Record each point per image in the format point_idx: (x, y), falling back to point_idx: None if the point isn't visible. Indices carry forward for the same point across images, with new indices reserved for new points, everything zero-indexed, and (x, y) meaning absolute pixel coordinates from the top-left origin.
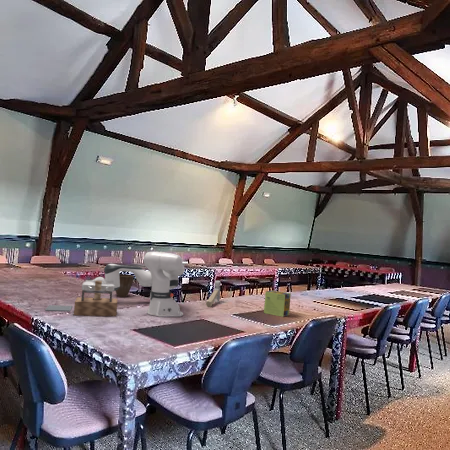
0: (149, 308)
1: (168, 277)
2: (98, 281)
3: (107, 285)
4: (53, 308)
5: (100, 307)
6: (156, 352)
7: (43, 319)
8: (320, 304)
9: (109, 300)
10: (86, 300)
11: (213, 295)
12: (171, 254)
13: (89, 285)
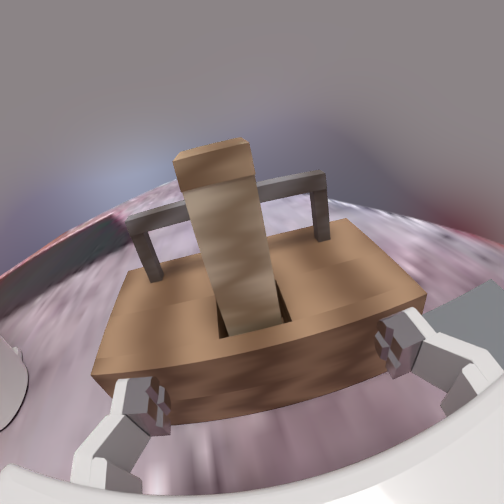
0: (8, 371)
1: None
2: (211, 144)
3: (77, 487)
4: (496, 310)
5: None
6: (142, 197)
7: (390, 218)
8: None
9: (158, 304)
10: (306, 251)
11: None
12: None
13: (489, 387)
